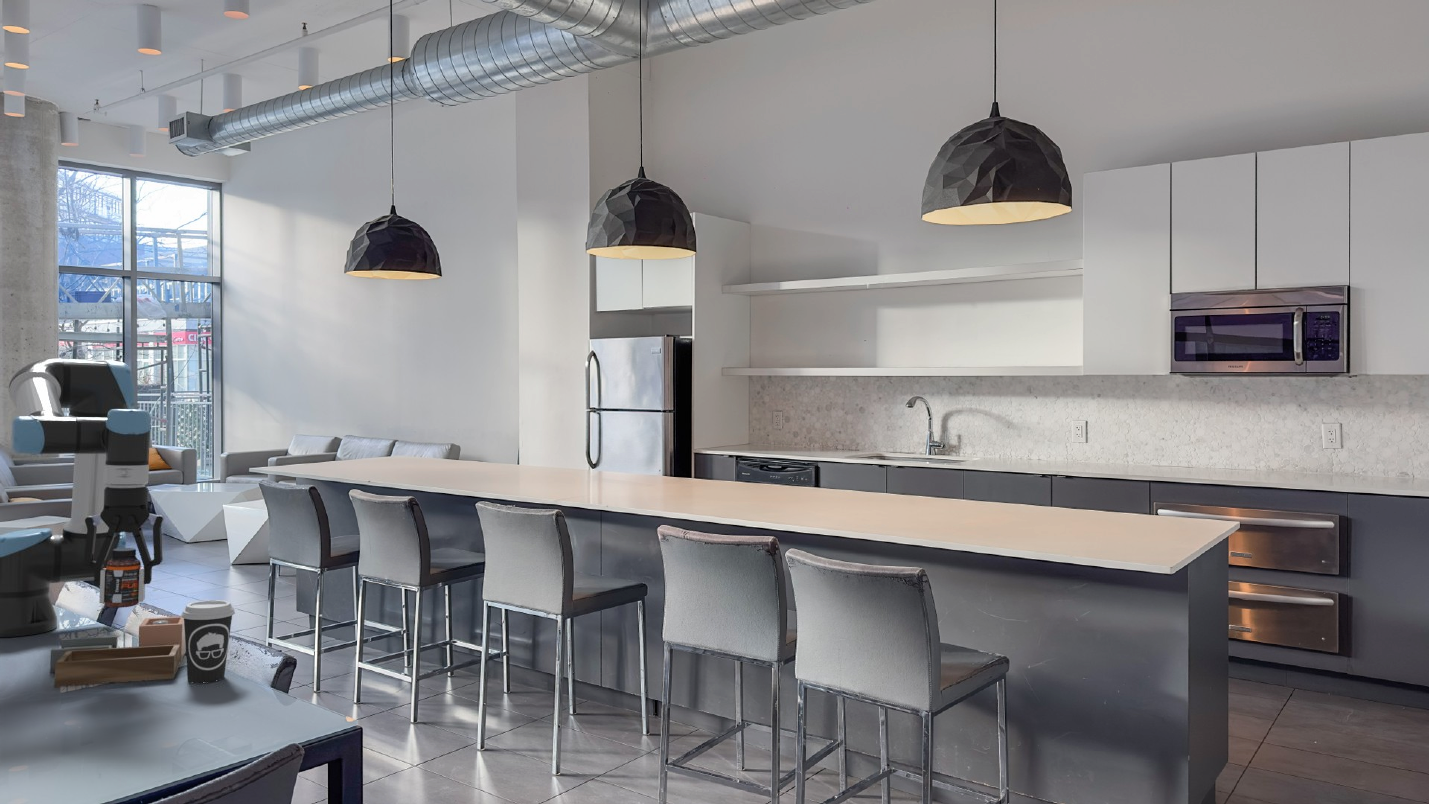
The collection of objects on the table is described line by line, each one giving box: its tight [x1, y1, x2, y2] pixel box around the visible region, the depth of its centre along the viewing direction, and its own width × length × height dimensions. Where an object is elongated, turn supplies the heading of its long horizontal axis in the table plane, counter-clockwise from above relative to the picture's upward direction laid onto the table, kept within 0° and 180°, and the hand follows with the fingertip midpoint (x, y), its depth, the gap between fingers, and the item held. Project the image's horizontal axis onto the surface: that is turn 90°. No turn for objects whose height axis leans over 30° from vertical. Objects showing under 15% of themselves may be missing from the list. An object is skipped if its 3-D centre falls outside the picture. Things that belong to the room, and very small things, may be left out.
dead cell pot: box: [137, 616, 186, 663], centre depth 207 cm, size 8×8×8 cm
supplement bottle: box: [104, 547, 142, 609], centre depth 193 cm, size 6×6×11 cm
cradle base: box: [49, 635, 119, 674], centre depth 200 cm, size 10×10×4 cm
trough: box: [54, 644, 181, 688], centre depth 193 cm, size 10×20×4 cm, turn 113°
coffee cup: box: [180, 599, 236, 684], centre depth 193 cm, size 10×10×15 cm
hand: (122, 600), depth 193 cm, fingers closed on supplement bottle, 6 cm apart
